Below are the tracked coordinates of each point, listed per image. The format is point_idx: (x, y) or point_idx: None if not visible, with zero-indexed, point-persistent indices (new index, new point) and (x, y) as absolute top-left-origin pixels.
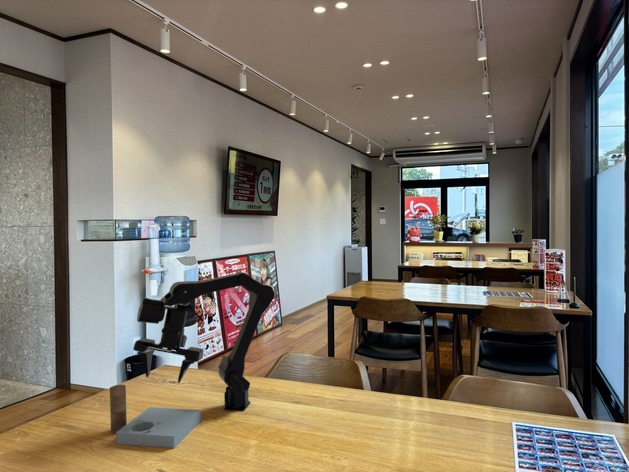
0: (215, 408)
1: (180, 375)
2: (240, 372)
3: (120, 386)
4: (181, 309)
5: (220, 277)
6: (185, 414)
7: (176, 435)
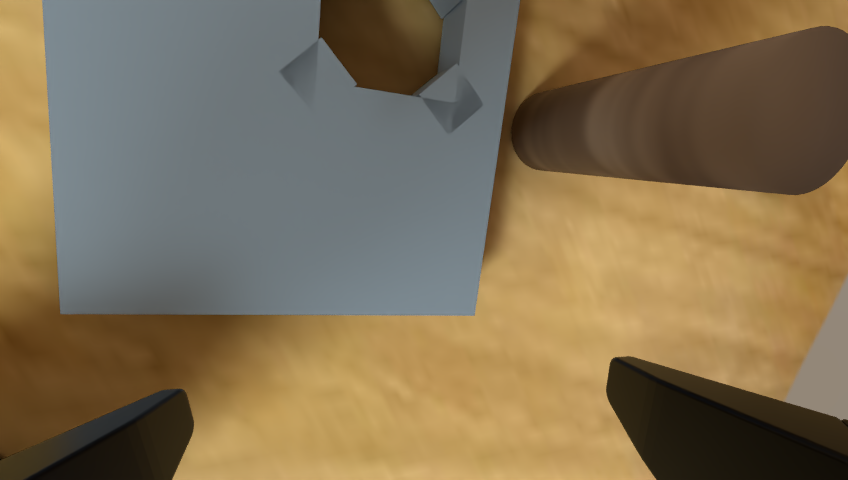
0: None
1: (44, 454)
2: None
3: (793, 137)
4: None
5: None
6: (158, 226)
7: None
